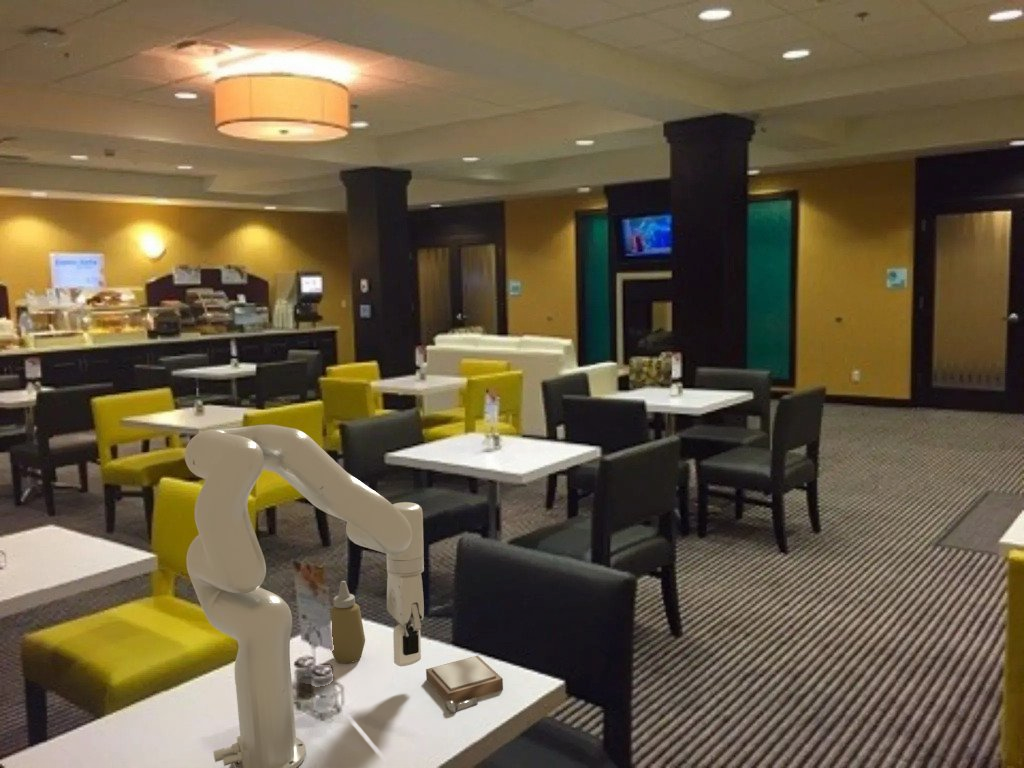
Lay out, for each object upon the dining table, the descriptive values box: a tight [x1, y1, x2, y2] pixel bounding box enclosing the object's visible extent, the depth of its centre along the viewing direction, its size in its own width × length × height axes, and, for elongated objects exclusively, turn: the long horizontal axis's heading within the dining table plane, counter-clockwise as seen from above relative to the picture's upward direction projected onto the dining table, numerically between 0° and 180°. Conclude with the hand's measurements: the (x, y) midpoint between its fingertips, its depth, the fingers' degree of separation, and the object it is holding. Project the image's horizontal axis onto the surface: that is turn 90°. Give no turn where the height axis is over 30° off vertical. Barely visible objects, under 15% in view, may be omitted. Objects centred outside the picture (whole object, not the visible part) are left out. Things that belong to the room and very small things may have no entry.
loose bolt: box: [445, 697, 478, 715], centre depth 170 cm, size 6×3×3 cm, turn 120°
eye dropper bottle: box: [392, 618, 422, 667], centre depth 178 cm, size 4×6×12 cm
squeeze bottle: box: [329, 580, 366, 664], centre depth 193 cm, size 8×8×18 cm
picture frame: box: [425, 655, 504, 704], centre depth 179 cm, size 12×12×3 cm
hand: (407, 648), depth 178 cm, fingers closed on eye dropper bottle, 3 cm apart
